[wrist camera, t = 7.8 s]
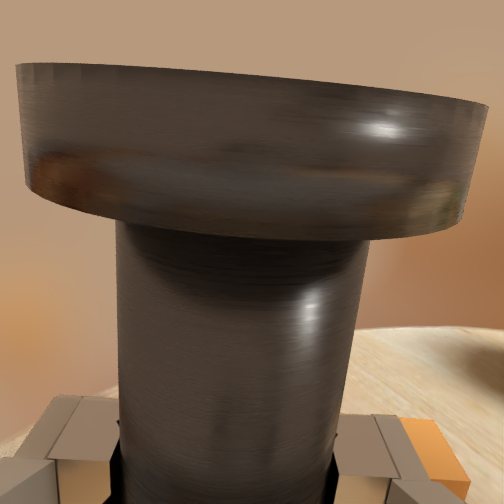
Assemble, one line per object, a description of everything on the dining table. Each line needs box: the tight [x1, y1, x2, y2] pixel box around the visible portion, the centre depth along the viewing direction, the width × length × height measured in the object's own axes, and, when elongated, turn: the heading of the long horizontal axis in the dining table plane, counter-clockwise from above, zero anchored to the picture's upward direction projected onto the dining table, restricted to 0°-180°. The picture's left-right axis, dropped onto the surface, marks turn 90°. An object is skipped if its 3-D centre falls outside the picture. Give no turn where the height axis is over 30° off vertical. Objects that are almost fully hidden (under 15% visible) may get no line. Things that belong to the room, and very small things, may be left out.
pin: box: [16, 63, 489, 504], centre depth 8 cm, size 6×6×14 cm
